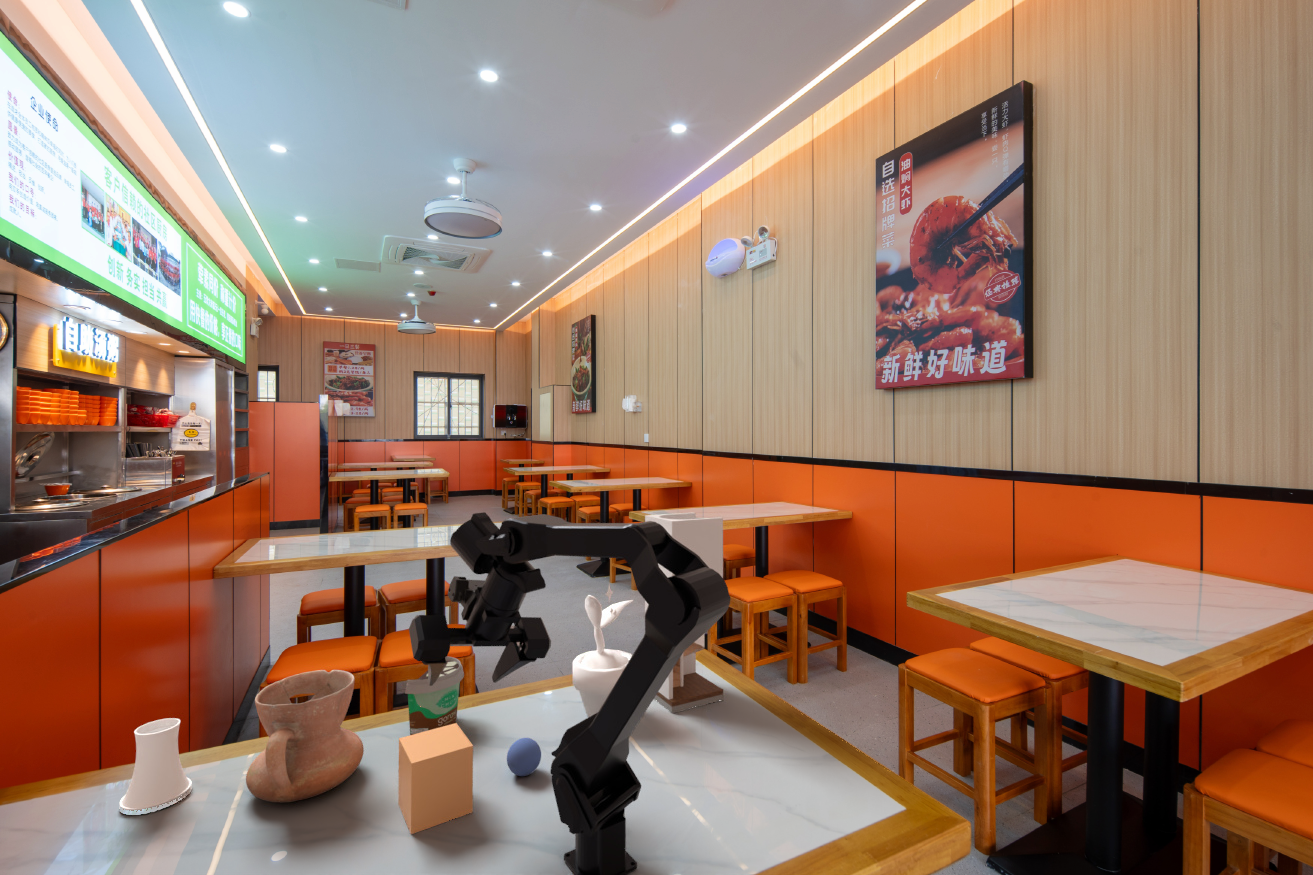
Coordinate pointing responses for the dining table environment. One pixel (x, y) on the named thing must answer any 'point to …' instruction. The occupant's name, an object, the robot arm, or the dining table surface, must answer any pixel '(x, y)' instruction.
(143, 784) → the vase
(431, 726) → the food container
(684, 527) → the white coffee grinder
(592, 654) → the potted plant
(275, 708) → the ceramic jug
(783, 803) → the dining table surface
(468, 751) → the tan wooden brick
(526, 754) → the ball
